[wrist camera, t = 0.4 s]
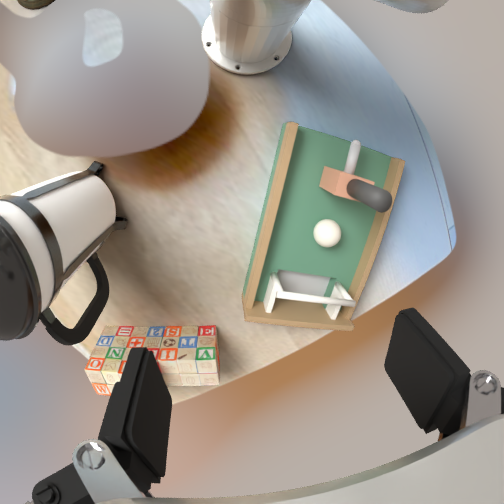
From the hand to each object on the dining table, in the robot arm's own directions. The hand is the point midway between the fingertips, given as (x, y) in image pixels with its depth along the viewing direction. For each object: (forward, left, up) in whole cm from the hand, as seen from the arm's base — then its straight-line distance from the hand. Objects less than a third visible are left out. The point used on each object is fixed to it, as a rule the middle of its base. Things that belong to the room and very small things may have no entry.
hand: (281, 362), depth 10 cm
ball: (+3, +13, -30) cm, 32 cm away
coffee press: (+7, -22, -34) cm, 41 cm away
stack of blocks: (+29, -9, -34) cm, 46 cm away
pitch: (+3, +13, -34) cm, 37 cm away
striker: (-7, +13, -31) cm, 35 cm away
